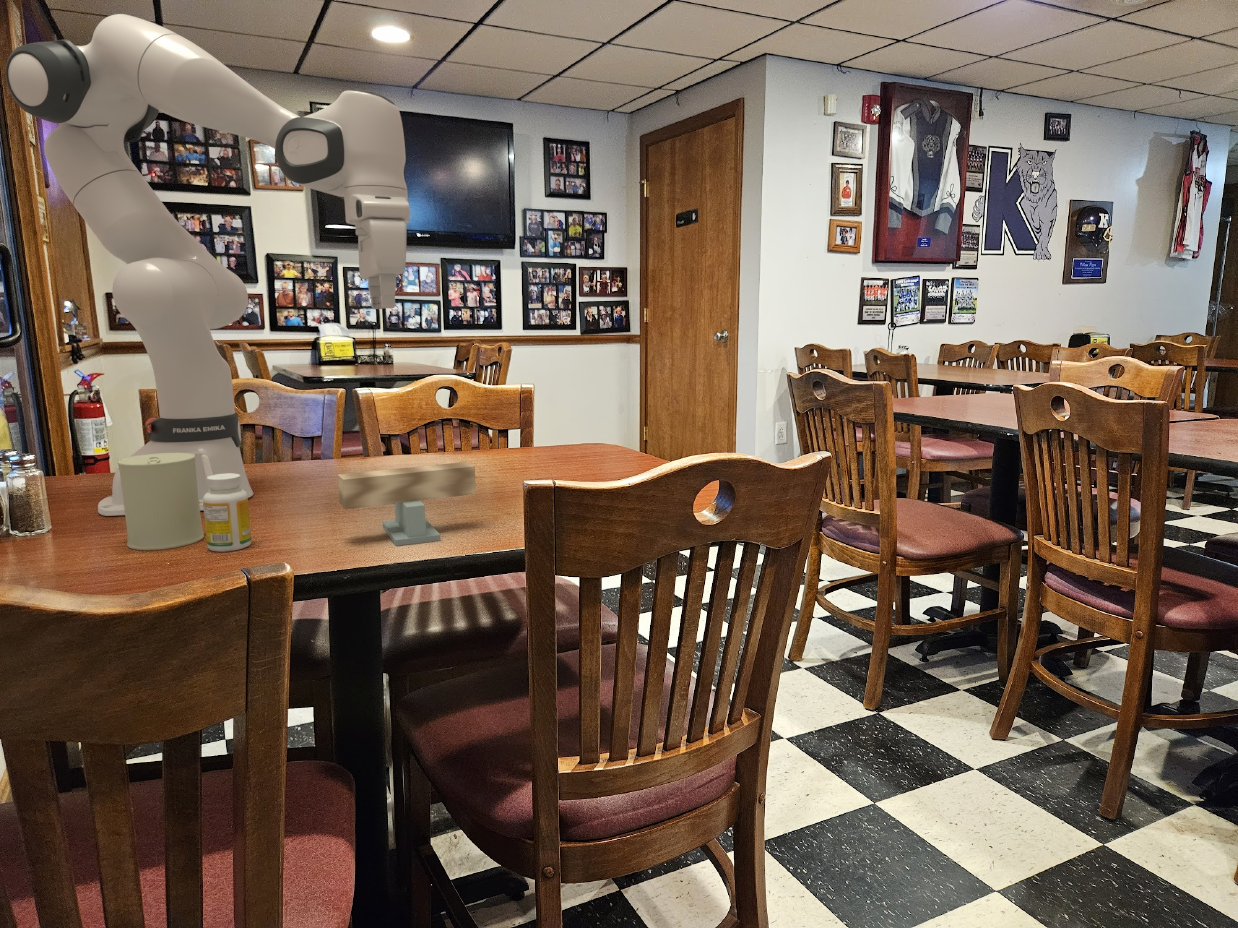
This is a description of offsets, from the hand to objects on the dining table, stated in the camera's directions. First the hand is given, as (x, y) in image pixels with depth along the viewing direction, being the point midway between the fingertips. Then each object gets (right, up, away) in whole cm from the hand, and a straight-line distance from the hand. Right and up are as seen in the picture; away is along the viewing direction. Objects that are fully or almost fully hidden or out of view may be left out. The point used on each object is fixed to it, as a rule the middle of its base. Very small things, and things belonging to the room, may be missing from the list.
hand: (383, 308), depth 119 cm
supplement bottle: (-17, -34, -12) cm, 40 cm away
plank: (+6, -28, -7) cm, 29 cm away
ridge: (+6, -33, -6) cm, 34 cm away
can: (-27, -34, -9) cm, 44 cm away
